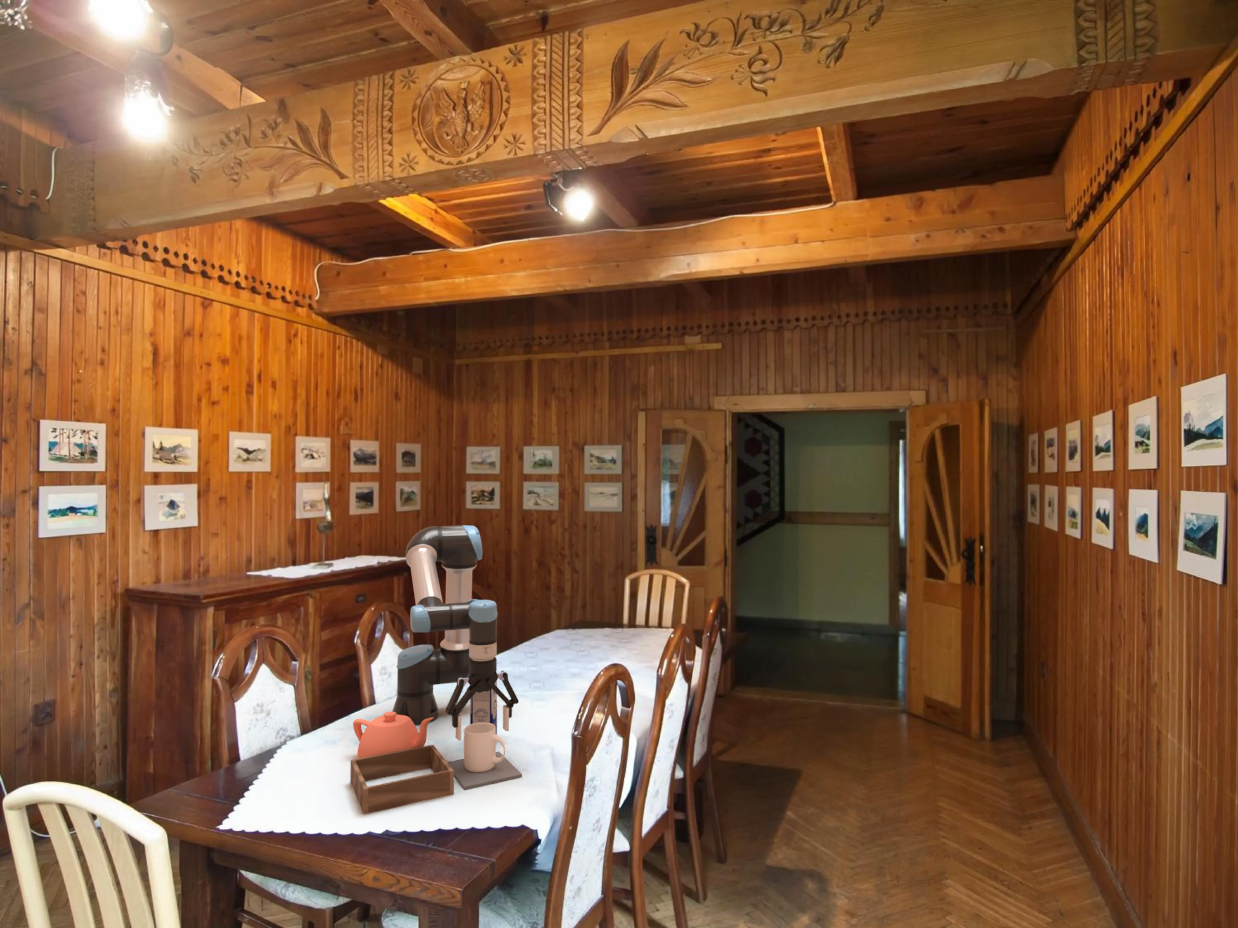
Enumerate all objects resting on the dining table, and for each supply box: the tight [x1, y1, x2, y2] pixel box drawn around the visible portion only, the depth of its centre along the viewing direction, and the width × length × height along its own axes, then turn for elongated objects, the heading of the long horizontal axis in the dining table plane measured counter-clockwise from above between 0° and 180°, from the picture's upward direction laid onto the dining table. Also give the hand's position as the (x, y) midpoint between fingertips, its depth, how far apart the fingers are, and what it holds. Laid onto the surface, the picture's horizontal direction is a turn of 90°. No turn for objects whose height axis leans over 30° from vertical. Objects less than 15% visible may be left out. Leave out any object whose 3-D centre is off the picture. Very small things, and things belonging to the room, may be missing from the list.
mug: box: [463, 723, 506, 772], centre depth 198 cm, size 9×12×11 cm
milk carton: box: [469, 680, 498, 735], centre depth 219 cm, size 7×7×20 cm
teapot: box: [352, 711, 434, 759], centre depth 205 cm, size 25×17×13 cm
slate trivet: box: [447, 751, 523, 791], centre depth 198 cm, size 18×16×1 cm
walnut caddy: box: [349, 744, 455, 815], centre depth 187 cm, size 20×22×6 cm
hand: (482, 734), depth 198 cm, fingers open, 13 cm apart
